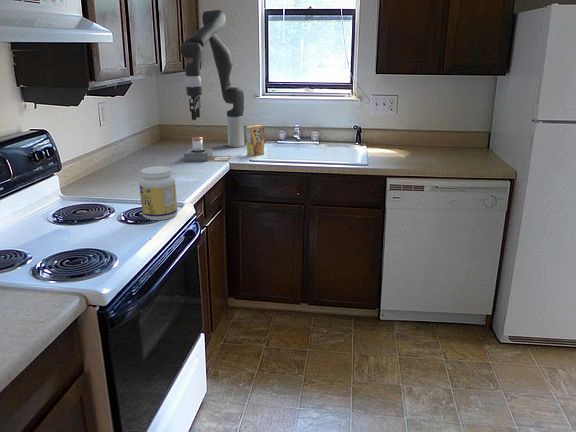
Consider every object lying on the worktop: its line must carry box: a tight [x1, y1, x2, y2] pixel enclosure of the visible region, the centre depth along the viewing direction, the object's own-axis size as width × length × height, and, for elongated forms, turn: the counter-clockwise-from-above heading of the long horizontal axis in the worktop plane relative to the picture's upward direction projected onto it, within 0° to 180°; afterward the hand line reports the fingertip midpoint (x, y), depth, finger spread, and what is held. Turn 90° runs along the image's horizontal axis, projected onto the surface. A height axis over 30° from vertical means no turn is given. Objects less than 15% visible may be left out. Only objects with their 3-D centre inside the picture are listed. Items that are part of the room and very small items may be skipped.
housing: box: [183, 148, 213, 161], centre depth 267 cm, size 12×12×4 cm
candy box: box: [245, 124, 265, 157], centre depth 277 cm, size 9×4×15 cm, turn 129°
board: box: [183, 155, 232, 163], centre depth 267 cm, size 13×22×1 cm, turn 87°
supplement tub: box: [138, 165, 179, 221], centre depth 182 cm, size 12×12×17 cm
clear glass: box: [191, 136, 204, 152], centre depth 265 cm, size 5×5×11 cm
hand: (196, 118), depth 261 cm, fingers open, 8 cm apart
